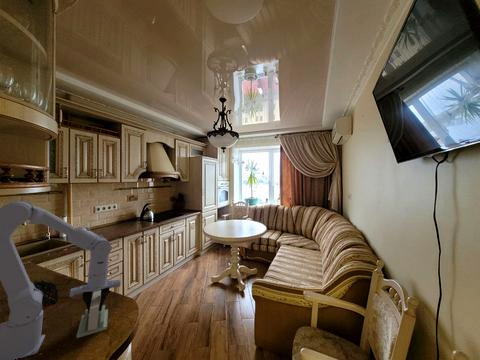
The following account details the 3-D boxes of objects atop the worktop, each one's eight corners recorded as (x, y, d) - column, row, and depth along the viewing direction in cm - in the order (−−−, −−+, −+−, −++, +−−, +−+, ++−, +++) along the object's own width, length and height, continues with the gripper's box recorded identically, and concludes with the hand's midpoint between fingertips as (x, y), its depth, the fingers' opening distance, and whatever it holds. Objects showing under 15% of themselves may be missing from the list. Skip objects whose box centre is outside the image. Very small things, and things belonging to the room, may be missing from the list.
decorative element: (61, 302, 80) (62, 287, 81) (44, 308, 76) (46, 292, 76) (43, 287, 91) (44, 274, 92) (27, 291, 87) (29, 278, 87)
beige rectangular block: (91, 310, 72) (93, 291, 73) (99, 309, 73) (101, 290, 74) (87, 330, 62) (89, 308, 63) (96, 328, 63) (98, 306, 64)
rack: (76, 338, 61) (77, 328, 61) (81, 318, 70) (82, 310, 70) (106, 329, 65) (107, 320, 66) (107, 311, 75) (108, 303, 75)
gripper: (69, 281, 62) (65, 324, 61) (121, 272, 70) (118, 311, 69) (73, 273, 68) (70, 312, 67) (121, 266, 76) (118, 301, 75)
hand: (94, 311), depth 68 cm, fingers closed on beige rectangular block, 2 cm apart
